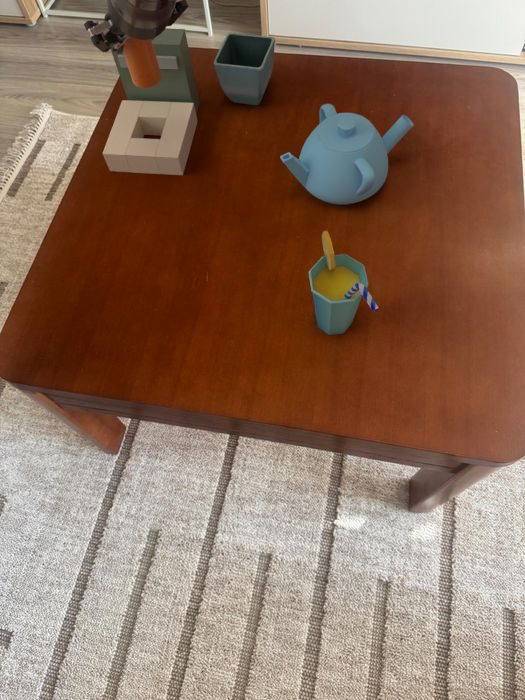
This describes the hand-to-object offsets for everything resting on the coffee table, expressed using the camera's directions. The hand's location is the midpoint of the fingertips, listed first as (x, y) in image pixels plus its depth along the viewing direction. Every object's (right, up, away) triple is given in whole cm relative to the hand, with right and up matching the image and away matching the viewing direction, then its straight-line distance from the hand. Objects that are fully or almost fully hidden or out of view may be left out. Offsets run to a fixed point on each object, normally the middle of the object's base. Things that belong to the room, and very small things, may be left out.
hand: (132, 39), depth 76 cm
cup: (+30, -41, 0) cm, 51 cm away
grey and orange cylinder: (+1, -4, +4) cm, 5 cm away
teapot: (+32, -16, +12) cm, 38 cm away
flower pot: (+16, +3, +23) cm, 28 cm away
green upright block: (+1, 0, +22) cm, 22 cm away
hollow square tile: (0, -8, +18) cm, 20 cm away
